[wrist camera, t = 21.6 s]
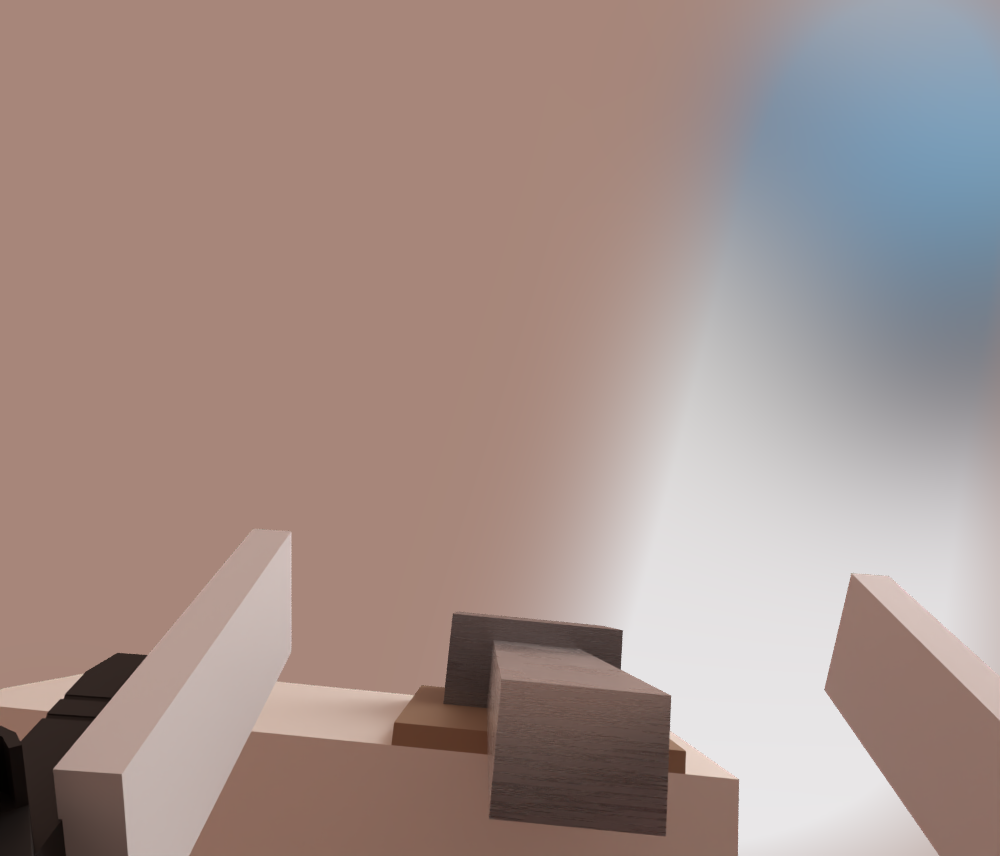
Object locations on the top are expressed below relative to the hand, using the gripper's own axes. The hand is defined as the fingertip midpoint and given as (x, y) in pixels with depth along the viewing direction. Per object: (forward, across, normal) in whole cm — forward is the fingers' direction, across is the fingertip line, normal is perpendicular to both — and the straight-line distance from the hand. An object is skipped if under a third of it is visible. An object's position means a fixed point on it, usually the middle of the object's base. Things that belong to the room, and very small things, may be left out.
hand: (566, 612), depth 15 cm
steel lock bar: (+10, -1, +11) cm, 15 cm away
